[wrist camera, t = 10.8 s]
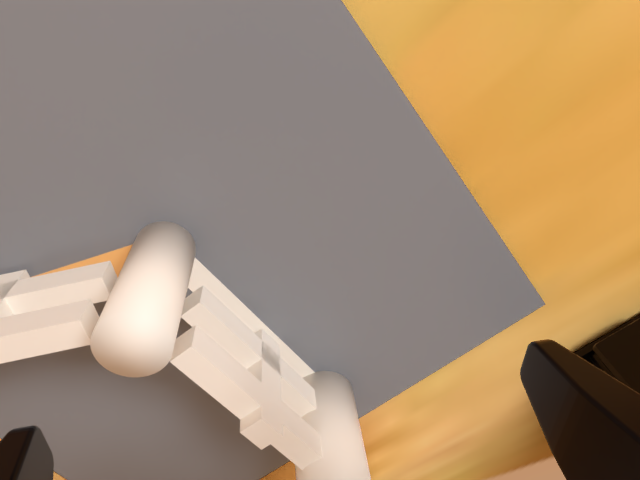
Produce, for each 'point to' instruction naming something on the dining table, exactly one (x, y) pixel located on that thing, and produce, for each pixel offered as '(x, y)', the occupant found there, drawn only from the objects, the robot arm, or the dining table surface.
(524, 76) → the dining table surface
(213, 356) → the fence fixed
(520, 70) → the dining table surface
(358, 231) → the card
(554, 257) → the dining table surface
